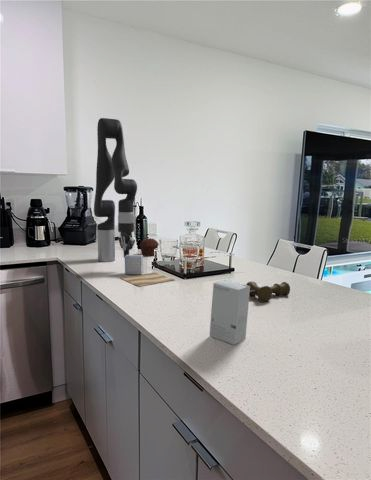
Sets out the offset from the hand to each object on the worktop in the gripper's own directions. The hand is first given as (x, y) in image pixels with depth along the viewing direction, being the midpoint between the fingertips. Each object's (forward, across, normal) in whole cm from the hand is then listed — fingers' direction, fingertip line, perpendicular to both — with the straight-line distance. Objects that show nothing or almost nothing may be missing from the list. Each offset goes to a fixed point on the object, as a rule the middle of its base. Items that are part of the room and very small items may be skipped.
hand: (126, 257), depth 159 cm
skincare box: (+7, +82, -14) cm, 83 cm away
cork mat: (+7, +19, 0) cm, 20 cm away
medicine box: (+7, +8, 0) cm, 10 cm away
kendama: (+7, +65, +22) cm, 69 cm away
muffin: (+7, -28, +31) cm, 43 cm away
